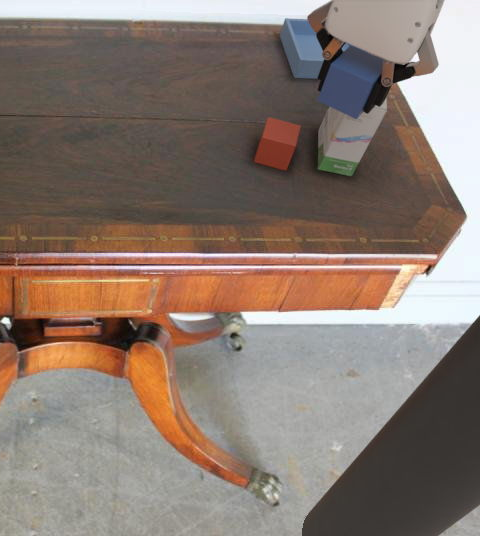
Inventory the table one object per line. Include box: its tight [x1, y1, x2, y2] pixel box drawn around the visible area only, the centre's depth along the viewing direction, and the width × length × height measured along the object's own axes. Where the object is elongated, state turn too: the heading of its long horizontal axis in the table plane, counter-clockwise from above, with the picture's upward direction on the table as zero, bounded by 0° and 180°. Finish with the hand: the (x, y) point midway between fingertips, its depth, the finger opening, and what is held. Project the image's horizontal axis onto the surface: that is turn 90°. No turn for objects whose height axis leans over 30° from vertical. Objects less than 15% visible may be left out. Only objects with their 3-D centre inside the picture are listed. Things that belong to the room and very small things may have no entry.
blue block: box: [316, 45, 383, 119], centre depth 81 cm, size 5×5×5 cm
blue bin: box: [279, 17, 369, 80], centre depth 113 cm, size 11×11×3 cm
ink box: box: [316, 96, 388, 177], centre depth 95 cm, size 9×5×12 cm, turn 167°
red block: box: [253, 116, 302, 172], centre depth 97 cm, size 4×4×4 cm
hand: (348, 95), depth 83 cm, fingers closed on blue block, 5 cm apart
